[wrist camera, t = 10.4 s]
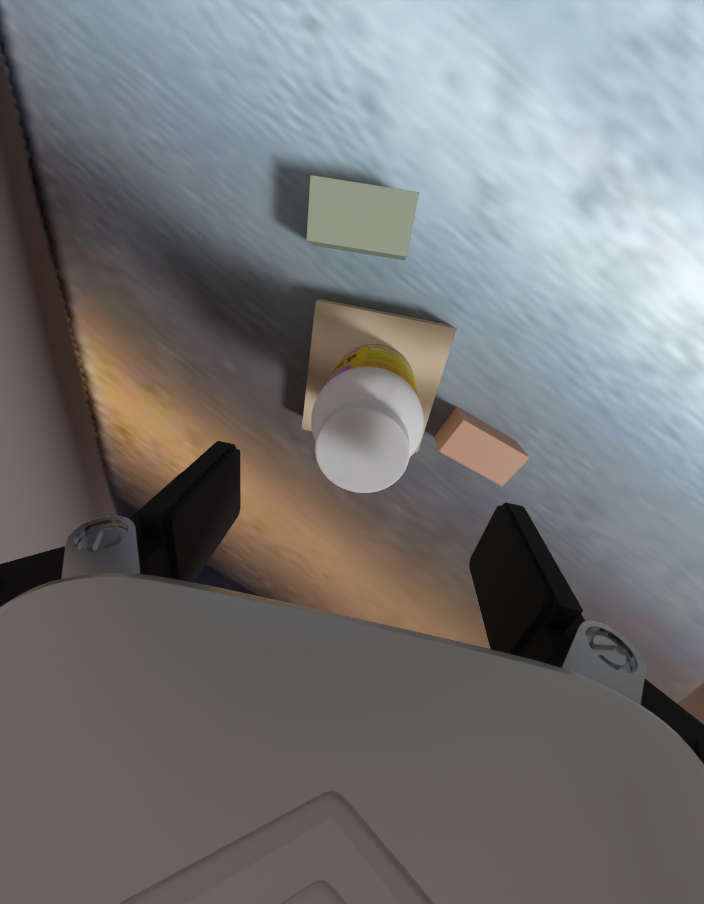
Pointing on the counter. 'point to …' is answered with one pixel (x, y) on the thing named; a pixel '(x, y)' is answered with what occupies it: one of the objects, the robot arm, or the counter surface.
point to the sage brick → (360, 217)
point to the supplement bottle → (367, 419)
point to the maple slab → (357, 325)
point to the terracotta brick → (480, 447)
